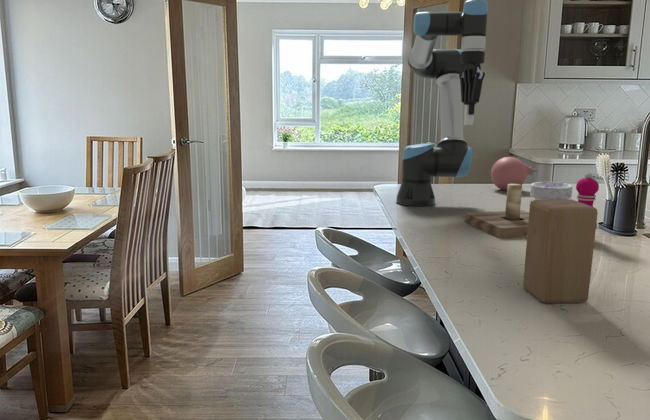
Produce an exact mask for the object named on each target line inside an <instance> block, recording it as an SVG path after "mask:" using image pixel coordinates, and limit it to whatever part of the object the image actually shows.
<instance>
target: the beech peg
mask: <svg viewBox="0 0 650 420" xmlns="http://www.w3.org/2000/svg"><path fill="white" fill-rule="evenodd" d="M522 192H523V184H522V185H520V184H508V187H507V191H506V199H505V200H506V201H505V202H506V203H505V211H506V213H505V219H506V220H508V221H518V220H519V219H520V210H521V205H522Z"/></svg>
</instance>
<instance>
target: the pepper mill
mask: <svg viewBox="0 0 650 420" xmlns="http://www.w3.org/2000/svg"><path fill="white" fill-rule="evenodd" d="M592 177H593V174H592V173H590V172H587V173H586V174H585V175H584V177H583V178H581V179H578V181H577V182H576V185H575V190H576V191H577V194H576V199H577V202H580V203H583V204H586V205H589V206H592V207H594V202H595V201H596V197H597V195H596V194H597V193H598V192H599V190H600V189H599V188H600V187H599V186H600V185H599V182H598V180H596V179H595V178H592ZM597 223H598V222H597ZM597 223H596V229H597V227H598V226H597V225H598V224H597Z"/></svg>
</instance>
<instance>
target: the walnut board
mask: <svg viewBox="0 0 650 420" xmlns="http://www.w3.org/2000/svg"><path fill="white" fill-rule="evenodd" d="M505 213H506V210H502V211H501V210H500V211H499V210H498V211H479V212H464V223H466V224H469V225H471V226H473V227H475V228H478V229H480V230H482V231H484V232H486V233H488V234H491V235H492V236H495V237H496V238H500V239H501V238H502V239H503V238H516V237H517V238H519V237H527V233H528V221H529V211H526V210H523V209H520V219H519V220H518V221H508V220H506V219H505Z"/></svg>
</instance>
